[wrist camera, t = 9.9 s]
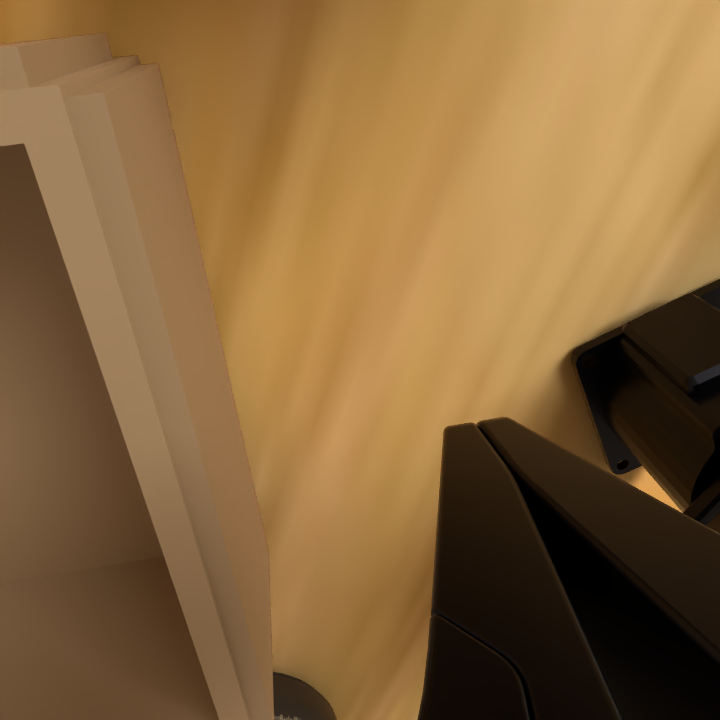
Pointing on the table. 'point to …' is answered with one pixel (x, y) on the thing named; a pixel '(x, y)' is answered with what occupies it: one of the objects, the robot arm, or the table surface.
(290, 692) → the jar
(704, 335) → the robot arm
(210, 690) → the shipping carton
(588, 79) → the table surface
